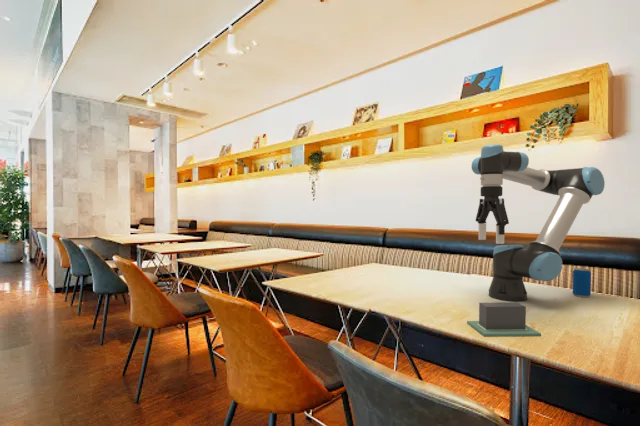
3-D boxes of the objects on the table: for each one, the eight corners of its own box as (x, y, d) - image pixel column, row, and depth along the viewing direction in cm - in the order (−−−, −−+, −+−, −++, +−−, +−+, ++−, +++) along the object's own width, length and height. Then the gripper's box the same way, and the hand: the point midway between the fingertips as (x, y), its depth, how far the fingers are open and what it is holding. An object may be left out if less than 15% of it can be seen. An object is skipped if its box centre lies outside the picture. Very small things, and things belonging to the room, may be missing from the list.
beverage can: (593, 298, 154) (594, 270, 154) (576, 297, 155) (577, 270, 155) (585, 294, 160) (586, 268, 160) (569, 293, 162) (570, 267, 161)
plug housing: (516, 324, 118) (517, 302, 118) (525, 329, 113) (525, 306, 113) (479, 324, 118) (479, 302, 118) (486, 329, 113) (486, 306, 113)
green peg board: (518, 323, 122) (518, 306, 122) (541, 336, 110) (541, 317, 110) (467, 323, 122) (467, 306, 122) (483, 336, 110) (484, 317, 110)
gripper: (467, 187, 147) (466, 238, 148) (498, 184, 122) (498, 245, 123) (485, 187, 147) (484, 238, 148) (520, 184, 122) (519, 245, 123)
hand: (490, 241), depth 135 cm, fingers open, 13 cm apart
